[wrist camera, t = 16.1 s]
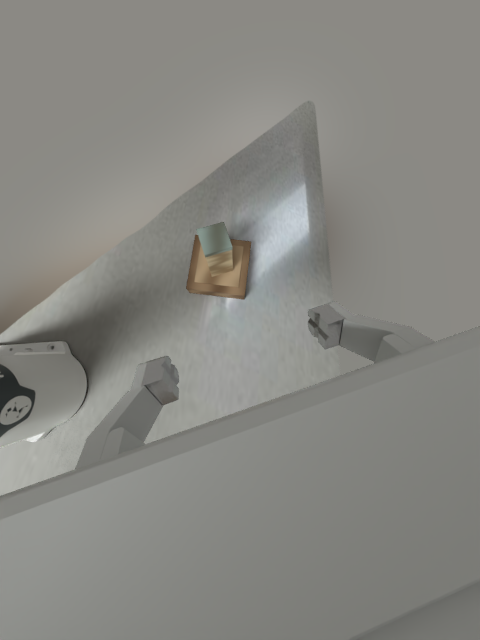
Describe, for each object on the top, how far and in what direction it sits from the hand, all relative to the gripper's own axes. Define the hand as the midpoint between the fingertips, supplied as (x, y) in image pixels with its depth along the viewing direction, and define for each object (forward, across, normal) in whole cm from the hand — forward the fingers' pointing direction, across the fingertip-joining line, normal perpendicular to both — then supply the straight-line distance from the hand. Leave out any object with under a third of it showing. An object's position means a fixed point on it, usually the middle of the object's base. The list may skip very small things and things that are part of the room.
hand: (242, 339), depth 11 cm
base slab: (+33, -2, +8) cm, 34 cm away
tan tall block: (+31, -2, +6) cm, 31 cm away
